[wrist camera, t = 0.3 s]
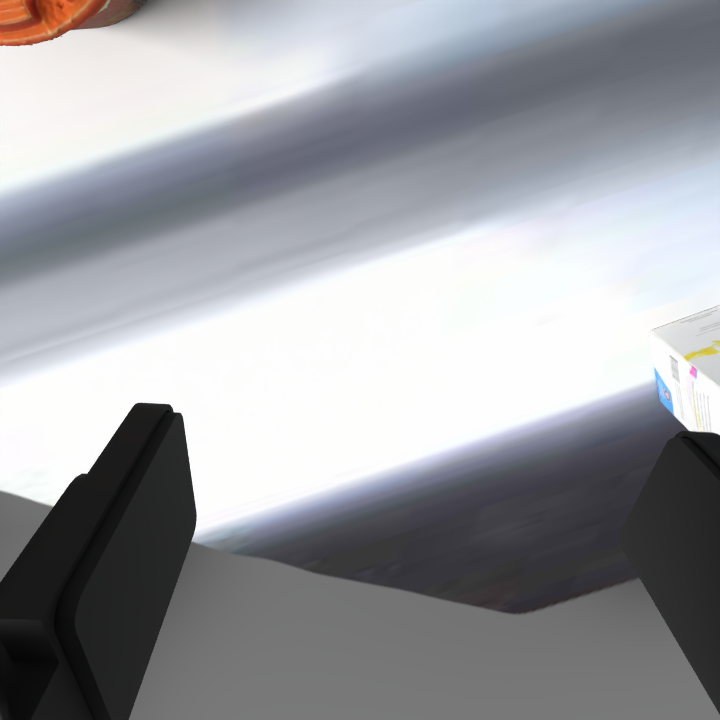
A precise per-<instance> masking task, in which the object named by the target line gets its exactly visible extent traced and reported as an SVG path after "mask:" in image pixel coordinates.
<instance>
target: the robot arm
mask: <svg viewBox="0 0 720 720" xmlns="http://www.w3.org/2000/svg"><path fill="white" fill-rule="evenodd" d="M196 517H197V515H196V507H195V500H194V493H193V485H192V478H191V471H190V464H189V457H188V450H187V443H186V436H185V429H184V422H183V417H182V414H181V413H174V412H173V408H172V407H171V405H169V404H153V403H137V404H135V405H134V406H133V407H132V409H131V410H130V412H129V413H128V415H127V416H126V418H125V419H124V421H123V422H122V424H121V425H120V427H119V428H118V429H117V431H116V432H115V434H114V435H113V437H112V438H111V440H110V441H109V443H108V444H107V446H106V447H105V449H104V450H103V452H102V453H101V454H100V456H99V457H98V459H97V460H96V462H95V463H94V465H93V466H92V468H91V469H90V471H89V472H88V474H81V475H79V476H77V477H76V478H75V479H74V480H73V481H72V482H71V483H70V484H69V486H68V487H67V489H66V490H65V492H64V493H63V494H62V496H61V497H60V499H59V500H58V501H57V503H56V504H55V506H54V507H53V509H52V510H51V511H50V513H49V514H48V516H47V517H46V518H45V520H44V521H43V523H42V524H41V526H40V527H39V528H38V530H37V531H36V533H35V534H34V535H33V537H32V538H31V540H30V541H29V543H28V544H27V545H26V547H25V548H24V550H23V551H22V552H21V554H20V555H19V557H18V558H17V560H16V561H15V562H14V564H13V565H12V567H11V568H10V569H9V571H8V572H7V574H6V575H5V577H4V578H3V579H2V581H1V582H0V720H128V719H129V717H130V714H131V711H132V708H133V705H134V703H135V699H136V697H137V694H138V691H139V688H140V686H141V683H142V680H143V677H144V674H145V671H146V669H147V666H148V663H149V660H150V657H151V654H152V651H153V649H154V646H155V643H156V640H157V637H158V634H159V631H160V629H161V626H162V623H163V620H164V617H165V614H166V612H167V608H168V606H169V603H170V600H171V597H172V594H173V592H174V589H175V586H176V583H177V580H178V577H179V574H180V572H181V569H182V566H183V563H184V560H185V557H186V555H187V552H188V549H189V546H190V543H191V540H192V537H193V535H194V531H195V527H196ZM620 542H621V545H622V548H623V550H624V552H625V554H626V555H627V557H628V559H629V561H630V562H631V564H632V566H633V567H634V569H635V571H636V572H637V574H638V576H639V578H640V579H641V581H642V583H643V584H644V586H645V587H646V589H647V591H648V593H649V595H650V596H651V598H652V600H653V601H654V603H655V605H656V607H657V608H658V610H659V612H660V613H661V615H662V617H663V618H664V620H665V622H666V624H667V625H668V627H669V629H670V630H671V632H672V634H673V636H674V637H675V639H676V641H677V642H678V644H679V646H680V647H681V649H682V651H683V653H684V654H685V656H686V658H687V659H688V661H689V663H690V665H691V666H692V668H693V670H694V671H695V673H696V675H697V676H698V678H699V680H700V682H701V683H702V685H703V687H704V688H705V690H706V692H707V693H708V695H709V697H710V699H711V700H712V702H713V704H714V705H715V707H716V708H717V710H718V712H719V714H720V435H719V434H716V433H713V432H696V431H682V432H680V433H678V434H676V436H675V437H674V438H672V439H670V440H669V441H668V442H667V443H666V445H665V447H664V449H663V451H662V453H661V455H660V457H659V459H658V461H657V462H656V464H655V466H654V468H653V470H652V472H651V474H650V476H649V478H648V480H647V482H646V484H645V485H644V487H643V489H642V491H641V493H640V495H639V497H638V499H637V501H636V503H635V505H634V507H633V508H632V510H631V512H630V514H629V516H628V518H627V520H626V522H625V524H624V526H623V528H622V530H621V533H620Z"/></svg>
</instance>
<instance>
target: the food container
mask: <svg viewBox="0 0 720 720" xmlns="http://www.w3.org/2000/svg"><path fill="white" fill-rule="evenodd" d="M146 1H147V0H0V46H3V45H5V46H20V45H33V44H36V43H40V42H43V41H48V40H53V39H54V38H57V37H59V36H61V35H63V34H64V33H66V32H67V31H69V30H77V29H90V28H100V27H105V26H109V25H112V24H115V23H117V22H119V21H121V20H123V19H125V18H127V17H128V16H130V15H131V14H133V13H134V12H135V11H136V10H137V9H139V8H140V7H141V6H142V5H143V4H144V3H145V2H146ZM61 37H62V36H61Z"/></svg>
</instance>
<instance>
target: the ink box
mask: <svg viewBox="0 0 720 720" xmlns="http://www.w3.org/2000/svg"><path fill="white" fill-rule="evenodd" d="M649 340H650V346H651V352H652V358H653V363H654V369H655V375H656V381H657V387H658V392H659V398H660V401H661V402H662V403H663V404H664V406H665V407H666V408H667V409H668V410H669V411H670V412H671V413H672V414H673V415H674V416H675V417H676V418H677V419H678V420H679V421H680V422H681V423H682V424H683V425H684V426H685V427H686V428H687V429H688V430H689V431H696V432H713V433H716V434H719V435H720V306H717V307H714V308H712V309H709V310H706V311H703V312H700V313H697V314H694V315H692V316H689V317H686V318H684V319H681V320H678V321H675V322H672V323H669V324H667V325H664V326H661V327H658V328H655V329H653V330H650V331H649Z"/></svg>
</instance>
